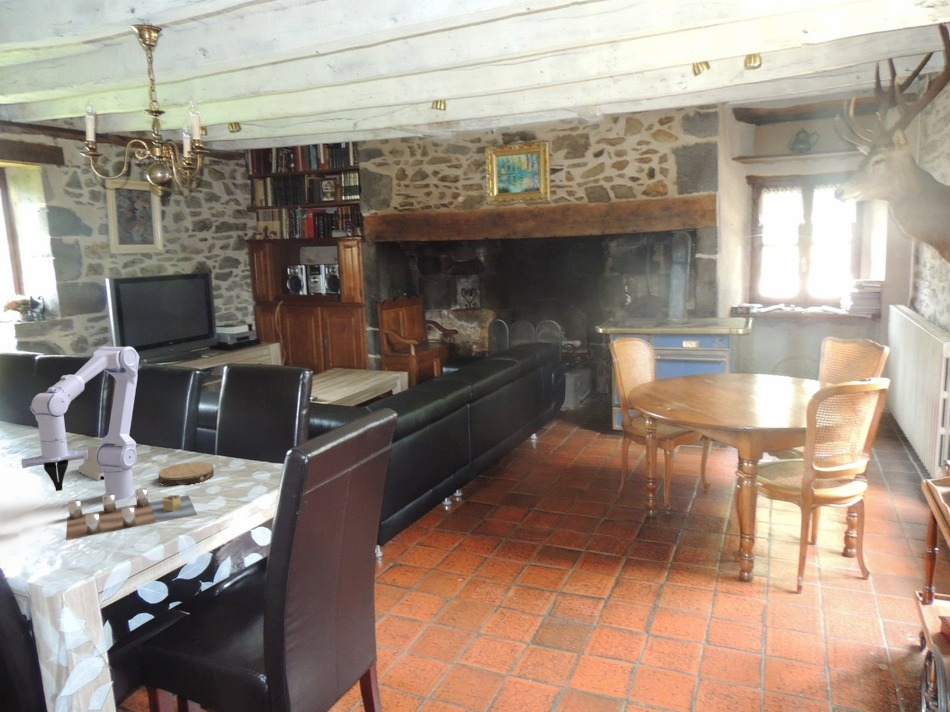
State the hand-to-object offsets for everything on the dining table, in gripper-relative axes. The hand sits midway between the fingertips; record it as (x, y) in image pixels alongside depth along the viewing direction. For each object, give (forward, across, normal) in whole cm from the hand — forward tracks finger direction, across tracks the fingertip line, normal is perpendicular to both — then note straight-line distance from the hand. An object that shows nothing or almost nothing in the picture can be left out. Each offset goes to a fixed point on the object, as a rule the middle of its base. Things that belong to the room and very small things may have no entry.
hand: (59, 489), depth 177 cm
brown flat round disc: (+10, +33, +23) cm, 41 cm away
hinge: (+10, +9, +45) cm, 47 cm away
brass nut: (+9, +26, -6) cm, 28 cm away
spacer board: (+9, +16, -6) cm, 20 cm away
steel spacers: (+9, +11, -6) cm, 16 cm away
